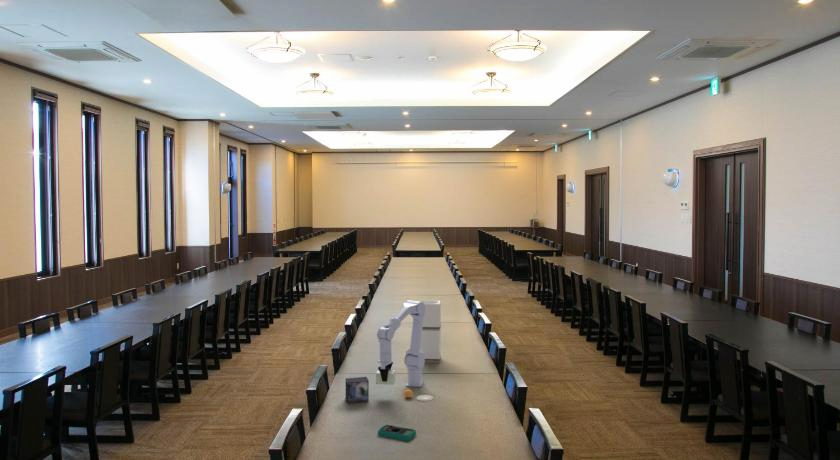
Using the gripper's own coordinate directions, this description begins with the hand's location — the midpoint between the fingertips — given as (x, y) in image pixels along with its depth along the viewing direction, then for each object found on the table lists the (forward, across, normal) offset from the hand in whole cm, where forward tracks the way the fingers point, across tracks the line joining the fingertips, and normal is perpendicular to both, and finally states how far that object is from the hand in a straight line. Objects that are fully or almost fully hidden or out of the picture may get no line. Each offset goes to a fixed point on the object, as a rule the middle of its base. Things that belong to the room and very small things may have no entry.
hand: (385, 379), depth 279 cm
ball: (+7, 0, +11) cm, 13 cm away
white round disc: (+9, 0, +19) cm, 21 cm away
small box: (+9, +6, -13) cm, 17 cm away
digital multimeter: (+9, +44, +13) cm, 47 cm away
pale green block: (+2, 0, 0) cm, 2 cm away
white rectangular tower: (+9, -66, +14) cm, 69 cm away
